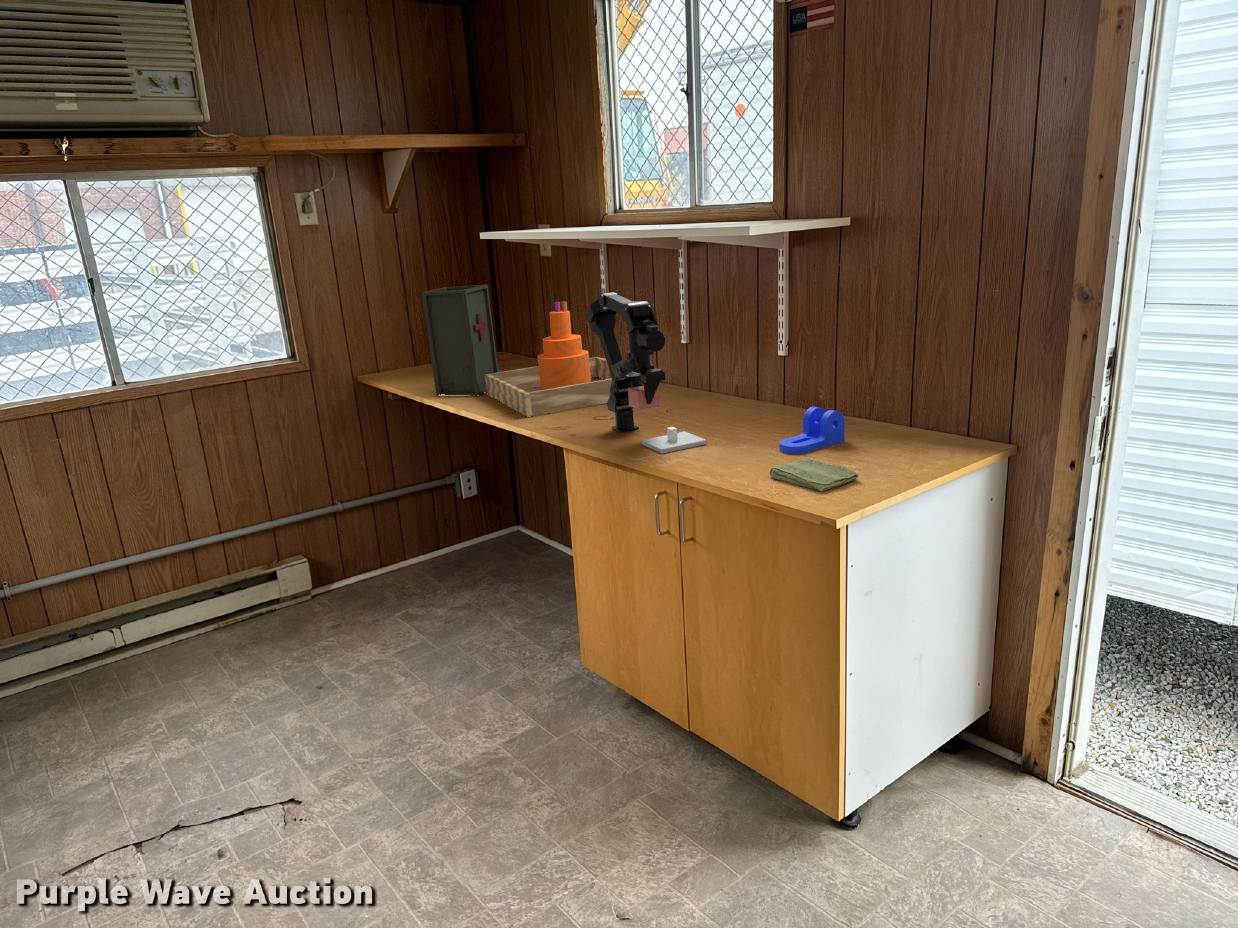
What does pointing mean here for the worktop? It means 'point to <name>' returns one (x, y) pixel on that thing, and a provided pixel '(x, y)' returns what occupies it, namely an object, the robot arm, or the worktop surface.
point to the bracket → (816, 432)
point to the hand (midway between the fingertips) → (643, 402)
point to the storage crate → (548, 390)
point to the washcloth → (813, 474)
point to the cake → (562, 354)
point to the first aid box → (460, 338)
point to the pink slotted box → (641, 398)
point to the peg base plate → (673, 441)
